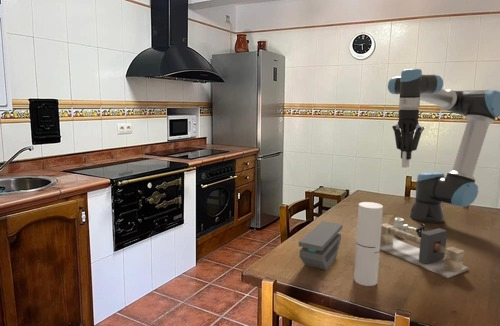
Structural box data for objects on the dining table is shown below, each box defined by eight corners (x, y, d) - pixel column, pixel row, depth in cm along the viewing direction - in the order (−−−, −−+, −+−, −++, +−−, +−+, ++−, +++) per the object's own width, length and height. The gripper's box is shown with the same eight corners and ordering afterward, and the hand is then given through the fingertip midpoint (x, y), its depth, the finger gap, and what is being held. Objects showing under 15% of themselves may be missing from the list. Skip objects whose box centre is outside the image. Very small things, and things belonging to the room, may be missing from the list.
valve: (390, 234, 161) (420, 241, 154) (392, 219, 160) (422, 225, 153) (395, 230, 166) (424, 236, 159) (396, 216, 165) (425, 221, 158)
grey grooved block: (320, 278, 120) (321, 246, 118) (297, 272, 123) (298, 241, 122) (340, 251, 141) (342, 224, 140) (321, 247, 145) (322, 220, 143)
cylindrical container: (350, 275, 122) (355, 202, 118) (371, 275, 122) (377, 201, 118) (358, 286, 115) (364, 208, 111) (381, 285, 115) (387, 208, 111)
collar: (418, 260, 131) (421, 232, 129) (436, 255, 136) (439, 228, 134) (426, 264, 128) (429, 235, 126) (444, 258, 133) (447, 230, 132)
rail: (370, 245, 148) (372, 226, 147) (390, 239, 154) (392, 221, 153) (447, 278, 121) (450, 255, 120) (468, 270, 127) (470, 248, 126)
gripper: (388, 108, 151) (385, 165, 155) (418, 109, 140) (414, 170, 144) (400, 108, 155) (397, 163, 159) (429, 109, 144) (425, 168, 148)
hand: (405, 167), depth 152 cm, fingers closed
